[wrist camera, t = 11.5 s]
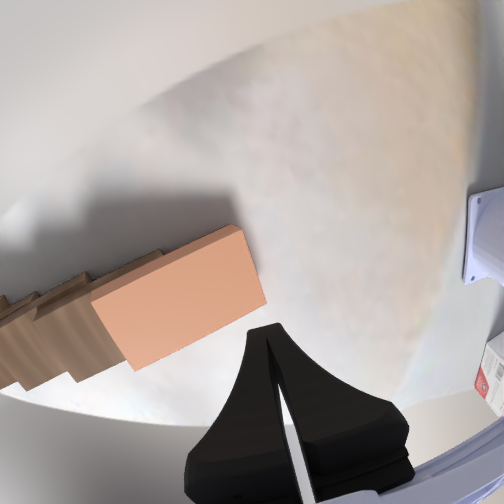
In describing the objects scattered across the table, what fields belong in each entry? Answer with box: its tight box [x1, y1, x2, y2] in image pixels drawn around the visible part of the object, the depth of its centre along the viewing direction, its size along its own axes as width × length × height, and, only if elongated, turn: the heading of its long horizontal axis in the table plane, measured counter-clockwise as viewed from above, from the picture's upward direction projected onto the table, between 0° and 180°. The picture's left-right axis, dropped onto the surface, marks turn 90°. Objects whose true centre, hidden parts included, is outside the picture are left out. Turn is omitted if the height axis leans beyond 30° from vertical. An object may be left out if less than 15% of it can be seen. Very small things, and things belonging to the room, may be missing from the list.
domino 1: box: [0, 291, 39, 389], centre depth 18 cm, size 2×5×9 cm
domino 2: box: [0, 271, 91, 391], centre depth 18 cm, size 2×5×9 cm
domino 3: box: [33, 249, 163, 383], centre depth 18 cm, size 2×5×9 cm
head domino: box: [91, 224, 267, 371], centre depth 18 cm, size 2×5×9 cm
